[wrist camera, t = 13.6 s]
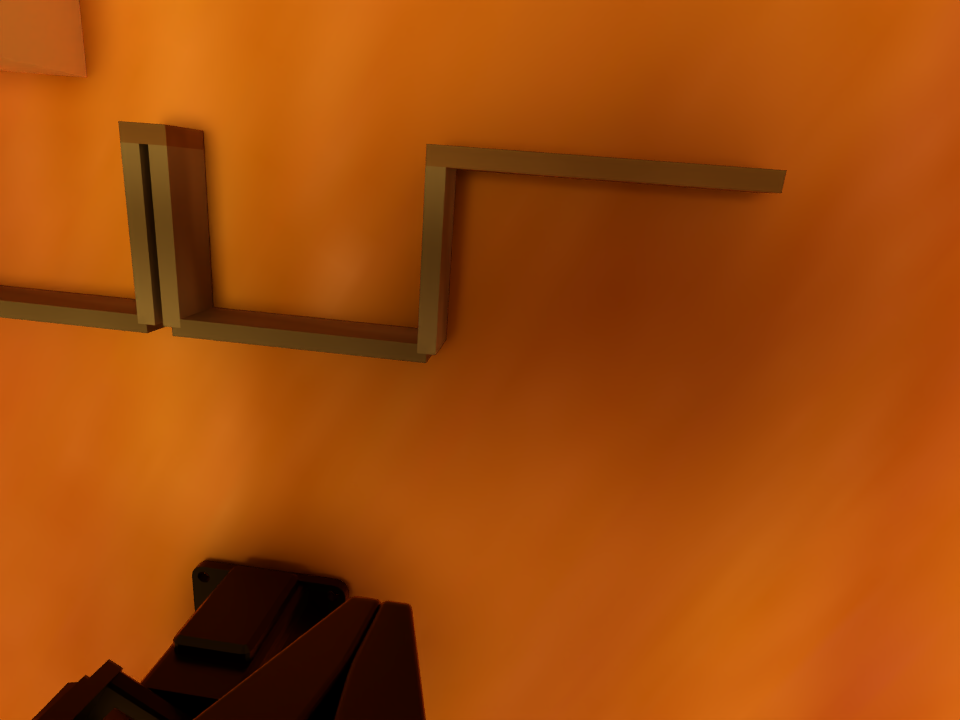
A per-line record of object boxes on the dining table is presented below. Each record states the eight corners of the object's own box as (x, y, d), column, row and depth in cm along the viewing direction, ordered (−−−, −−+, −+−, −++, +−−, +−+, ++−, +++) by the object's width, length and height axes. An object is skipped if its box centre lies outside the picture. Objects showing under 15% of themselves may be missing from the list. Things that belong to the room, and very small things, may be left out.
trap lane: (719, 376, 20) (747, 408, 17) (-144, 285, 23) (-244, 300, 20) (831, -171, 15) (896, -253, 12) (-258, -196, 18) (-408, -268, 15)
